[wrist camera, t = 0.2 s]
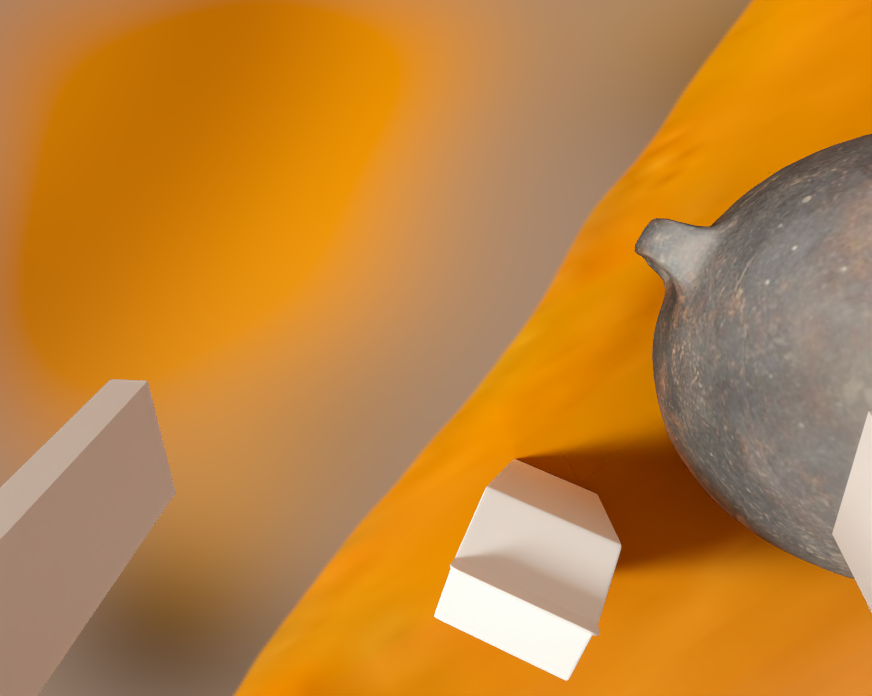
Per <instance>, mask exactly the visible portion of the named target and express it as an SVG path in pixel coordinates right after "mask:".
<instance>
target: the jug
mask: <svg viewBox="0 0 872 696" xmlns="http://www.w3.org/2000/svg"><path fill="white" fill-rule="evenodd" d="M635 252H636V253H637V254H638V255H641V256H642V257H643V258H644V259H645V260H646V262H647V263H648V265H649V266H650V267H651V268H652V269H653V270H654V271H655V272H656V273H658V275H659V276H660V277H661V278H662V280H663V281H664V284H665V297H664V301H663V304H662V307H661V309H660V312H659V316H658V320H657V323H656V327H655V333H654V340H653V354H652V357H653V371H654V380H655V387H656V393H657V398H658V402H659V406H660V411H661V414H662V417H663V421H664V424H665V427H666V430H667V433H668V435H669V438H670V440H671V442H672V444H673V446H674V448H675V449H676V451H677V453H678V455H679V456H680V458H681V460H682V461H683V463H684V464H685V466H686V467H687V468H688V470H689V471H690V472H691V474H692V475H693V477H694V478H695V479H696V480H697V481H698V483H699V484H700V485H701V486H702V487H703V489H704V490H705V491H706V492H707V493H708V495H709V496H710V497H711V498H712V499H713V500H714V501H715V502H716V503H717V504H718V505H719V506H720V507H721V508H722V509H723V510H724V511H725V512H727V513H728V514H729V515H730V516H732V517H733V518H734V519H736V520H737V521H738V522H740V523H741V524H742V525H744V526H745V527H746V528H748V529H749V530H751V531H752V532H754V533H755V534H757V535H758V536H760V537H761V538H763V539H764V540H766V541H768V542H769V543H771V544H773V545H774V546H776V547H778V548H780V549H782V550H784V551H786V552H788V553H790V554H792V555H794V556H796V557H798V558H800V559H803V560H805V561H807V562H810V563H812V564H814V565H817V566H819V567H821V568H824V569H826V570H829V571H832V572H834V573H837V574H840V575H843V576H846V577H849V578H854V576H853V574H852V572H851V570H850V568H849V566H848V564H847V562H846V560H845V558H844V556H843V555H842V553H841V551H840V549H839V547H838V545H837V543H836V541H835V539H834V537H833V535H832V533H833V529H834V526H835V523H836V519H837V516H838V512H839V509H840V506H841V502H842V499H843V496H844V492H845V489H846V485H847V482H848V479H849V475H850V472H851V469H852V465H853V462H854V458H855V455H856V452H857V448H858V445H859V441H860V438H861V435H862V431H863V428H864V425H865V421H866V418H867V414H868V411H872V134H869V135H865V136H861V137H858V138H855V139H852V140H849V141H846V142H843V143H839V144H836V145H833V146H831V147H828V148H826V149H823V150H820V151H818V152H815V153H813V154H811V155H809V156H807V157H805V158H803V159H801V160H799V161H797V162H794V163H792V164H790V165H788V166H786V167H784V168H783V169H781V170H779V171H777V172H776V173H774V174H773V175H771V176H770V177H769V178H767V179H766V180H764V181H763V182H761V183H760V184H758V185H757V186H755V187H754V188H752V189H751V190H750V191H748V192H747V193H746V194H745V195H743V196H742V197H741V198H740V199H739V200H737V201H736V202H735V203H734V204H733V205H732V206H731V207H730V208H729V209H728V210H727V211H726V212H725V213H724V214H723V215H722V216H721V217H720V218H719V219H717V220H716V221H715V222H714V223H713V224H712V225H711V226H710V227H703V226H694V225H690V224H686V223H682V222H677V221H674V220H670V219H658V218H656V219H653V220H652V221H651V222H649V224H648V225H647V226H646V228H645V229H644V231H643V232H642V234H641V236H640V237H639V239H638V241H637V243H636V244H635ZM854 579H855V578H854Z"/></svg>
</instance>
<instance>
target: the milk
mask: <svg viewBox="0 0 872 696" xmlns="http://www.w3.org/2000/svg"><path fill="white" fill-rule="evenodd" d="M621 548H622V545H621V543H620V540H619V538H618V536H617V534H616V532H615V530H614V528H613V526H612V524H611V522H610V519H609V517H608V515H607V513H606V511H605V509H604V507H603V505H602V503H601V500H600V498H599V496H598V494H596V493H594V492H592V491H589V490H587V489H585V488H582V487H580V486H577V485H575V484H573V483H570V482H568V481H566V480H563V479H561V478H559V477H556V476H554V475H552V474H549V473H547V472H545V471H542V470H540V469H538V468H535V467H533V466H531V465H528V464H526V463H523V462H521V461H519V460H516V459H514V460H513V461H512V462H511V463H510V464H509V465H508V466H507V467H506V468H505V469H504V470H503V471H502V472H501V473H500V474H499V475H498V476H497V477H496V478H495V479H494V480H493V481H492V482H491V483H490V484H489V485H488V486H487V487H486V489H485V491H484V493H483V495H482V498H481V500H480V502H479V504H478V507H477V509H476V511H475V513H474V516H473V518H472V520H471V523H470V525H469V527H468V529H467V532H466V534H465V536H464V538H463V541H462V543H461V545H460V548H459V550H458V552H457V554H456V557H455V559H454V560H453V561H452V563H451V565H450V567H451V570H450V573H449V575H448V578H447V581H446V584H445V586H444V589H443V592H442V595H441V598H440V600H439V603H438V606H437V609H436V611H435V615H434V617H435V618H437V619H439V620H441V621H443V622H445V623H447V624H449V625H451V626H453V627H455V628H457V629H459V630H462V631H464V632H466V633H468V634H470V635H472V636H474V637H476V638H478V639H480V640H482V641H484V642H487V643H489V644H491V645H493V646H495V647H497V648H499V649H501V650H503V651H505V652H507V653H509V654H512V655H514V656H516V657H518V658H520V659H522V660H524V661H526V662H528V663H530V664H532V665H534V666H537V667H539V668H541V669H543V670H545V671H547V672H549V673H551V674H553V675H555V676H557V677H559V678H562V679H564V680H569V678H570V676H571V674H572V673H573V671H574V669H575V667H576V665H577V663H578V661H579V659H580V657H581V656H582V654H583V652H584V650H585V648H586V646H587V644H588V642H589V640H590V639H591V637H592V635H594V636H598V635H599V628H598V622H599V619H600V616H601V612H602V609H603V606H604V603H605V600H606V596H607V593H608V590H609V587H610V584H611V580H612V577H613V574H614V571H615V568H616V564H617V561H618V558H619V555H620V551H621Z"/></svg>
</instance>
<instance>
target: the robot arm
mask: <svg viewBox="0 0 872 696" xmlns="http://www.w3.org/2000/svg"><path fill="white" fill-rule="evenodd" d="M174 495H175V489H174V485H173V481H172V477H171V473H170V469H169V465H168V460H167V456H166V452H165V448H164V444H163V440H162V436H161V432H160V428H159V424H158V421H157V416H156V412H155V408H154V404H153V400H152V396H151V392H150V388H149V384H148V381H138V380H115V379H111V380H110V381H109V382H108V383H107V384H105V386H104V387H103V388H101V389H100V391H98V392H97V393H96V394H95V395H94V396H93V397H92V398H91V399H90V400H89V401H88V402H87V403H86V404H85V405H84V406H83V407H82V408H81V409H80V410H79V411H78V412H77V413H76V414H75V415H74V416H73V417H72V418H71V419H70V420H69V421H68V422H67V423H66V424H65V425H64V426H63V427H62V428H61V429H60V430H59V431H58V432H57V433H56V434H55V435H54V436H53V437H52V438H51V439H50V440H49V441H48V442H46V443H45V444H44V445H43V446H42V447H41V448H40V449H39V450H38V451H37V452H36V453H35V454H34V455H33V456H32V457H31V458H30V459H29V460H28V461H27V462H26V463H25V464H24V465H23V466H22V467H21V468H20V469H19V470H18V471H17V472H16V473H15V474H14V475H13V476H12V477H11V478H10V479H9V480H8V481H7V482H6V483H5V484H4V485H3V486H2V487H1V488H0V696H37V695H38V694H39V692H40V691H41V690H42V688H43V686H44V685H45V684H46V682H47V681H48V679H49V678H50V676H51V675H52V673H53V672H54V670H55V669H56V668H57V666H58V665H59V663H60V662H61V660H62V659H63V657H64V656H65V654H66V653H67V651H68V650H69V648H70V647H71V646H72V644H73V643H74V641H75V640H76V638H77V637H78V635H79V634H80V632H81V631H82V629H83V628H84V626H85V625H86V624H87V622H88V621H89V619H90V618H91V616H92V615H93V613H94V612H95V610H96V609H97V607H98V606H99V604H100V603H101V602H102V600H103V599H104V597H105V596H106V594H107V593H108V591H109V590H110V588H111V587H112V585H113V584H114V583H115V581H116V580H117V578H118V577H119V575H120V574H121V572H122V571H123V569H124V568H125V566H126V565H127V563H128V562H129V560H130V559H131V557H132V556H133V555H134V553H135V552H136V550H137V549H138V547H139V546H140V544H141V543H142V541H143V540H144V539H145V537H146V536H147V534H148V533H149V531H150V530H151V528H152V527H153V525H154V524H155V522H156V521H157V519H158V518H159V517H160V515H161V514H162V512H163V511H164V509H165V508H166V506H167V505H168V503H169V502H170V500H171V499H172V497H173V496H174ZM832 535H833V537H834V539H835V541H836V543H837V545H838V547H839V549H840V551H841V553H842V555H843V556H844V558H845V560H846V562H847V564H848V566H849V568H850V570H851V572H852V574H853V576H854V578H855V580H856V582H857V584H858V586H859V588H860V590H861V592H862V594H863V596H864V598H865V600H866V602H867V604H868V606H869V608H870V610H871V612H872V411H868V414H867V418H866V421H865V425H864V428H863V431H862V435H861V438H860V441H859V445H858V448H857V452H856V455H855V458H854V462H853V465H852V469H851V472H850V475H849V479H848V482H847V485H846V489H845V492H844V496H843V499H842V502H841V506H840V509H839V512H838V516H837V519H836V523H835V526H834V529H833V533H832Z"/></svg>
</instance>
